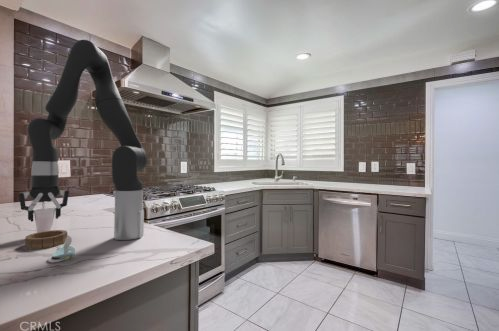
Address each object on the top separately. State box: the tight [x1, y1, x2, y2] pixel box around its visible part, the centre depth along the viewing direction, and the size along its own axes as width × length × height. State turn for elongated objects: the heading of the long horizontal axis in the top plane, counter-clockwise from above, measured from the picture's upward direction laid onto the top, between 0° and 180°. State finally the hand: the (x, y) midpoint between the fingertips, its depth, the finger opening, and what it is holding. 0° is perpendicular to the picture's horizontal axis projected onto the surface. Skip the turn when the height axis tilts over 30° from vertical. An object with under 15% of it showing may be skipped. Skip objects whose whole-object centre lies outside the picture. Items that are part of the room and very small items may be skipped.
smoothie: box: [33, 202, 56, 233], centre depth 87 cm, size 6×6×14 cm
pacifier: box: [47, 235, 76, 264], centre depth 66 cm, size 7×6×6 cm
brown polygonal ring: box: [24, 229, 68, 250], centre depth 78 cm, size 10×10×3 cm
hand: (44, 219), depth 87 cm, fingers closed on smoothie, 6 cm apart
